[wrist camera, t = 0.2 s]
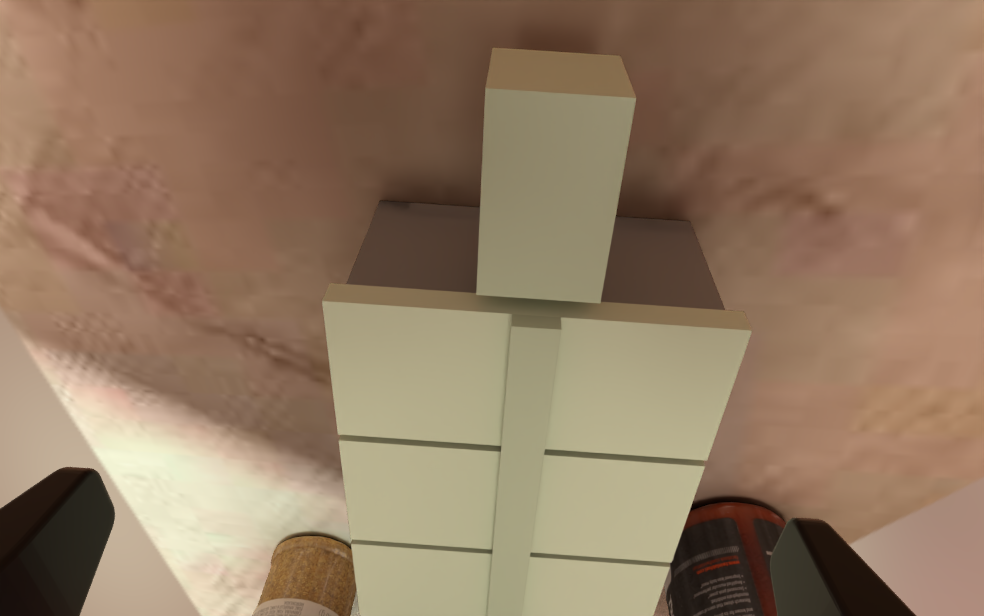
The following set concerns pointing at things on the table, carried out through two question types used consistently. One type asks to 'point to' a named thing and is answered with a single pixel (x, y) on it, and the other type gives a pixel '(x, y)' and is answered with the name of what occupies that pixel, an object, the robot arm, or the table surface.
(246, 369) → the table surface
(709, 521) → the supplement bottle
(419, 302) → the lid
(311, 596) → the sprinkles bottle
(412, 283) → the tub
